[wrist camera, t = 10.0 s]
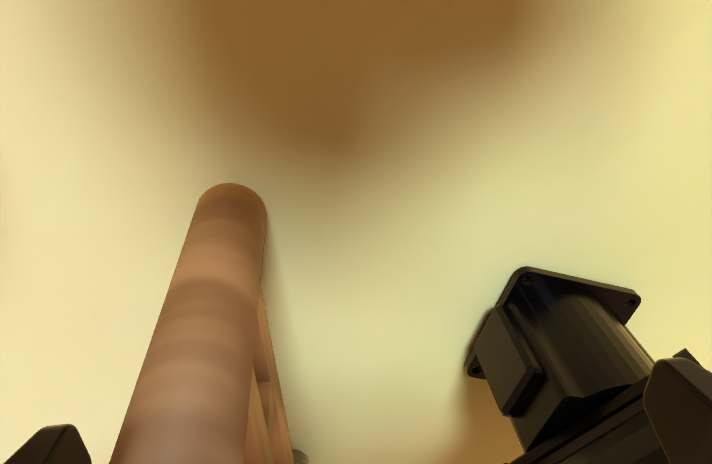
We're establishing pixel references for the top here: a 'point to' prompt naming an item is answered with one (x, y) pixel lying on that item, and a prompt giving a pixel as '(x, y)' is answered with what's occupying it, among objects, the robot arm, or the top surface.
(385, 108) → the top surface
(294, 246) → the top surface
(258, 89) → the top surface
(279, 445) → the gate
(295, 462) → the hinge post
